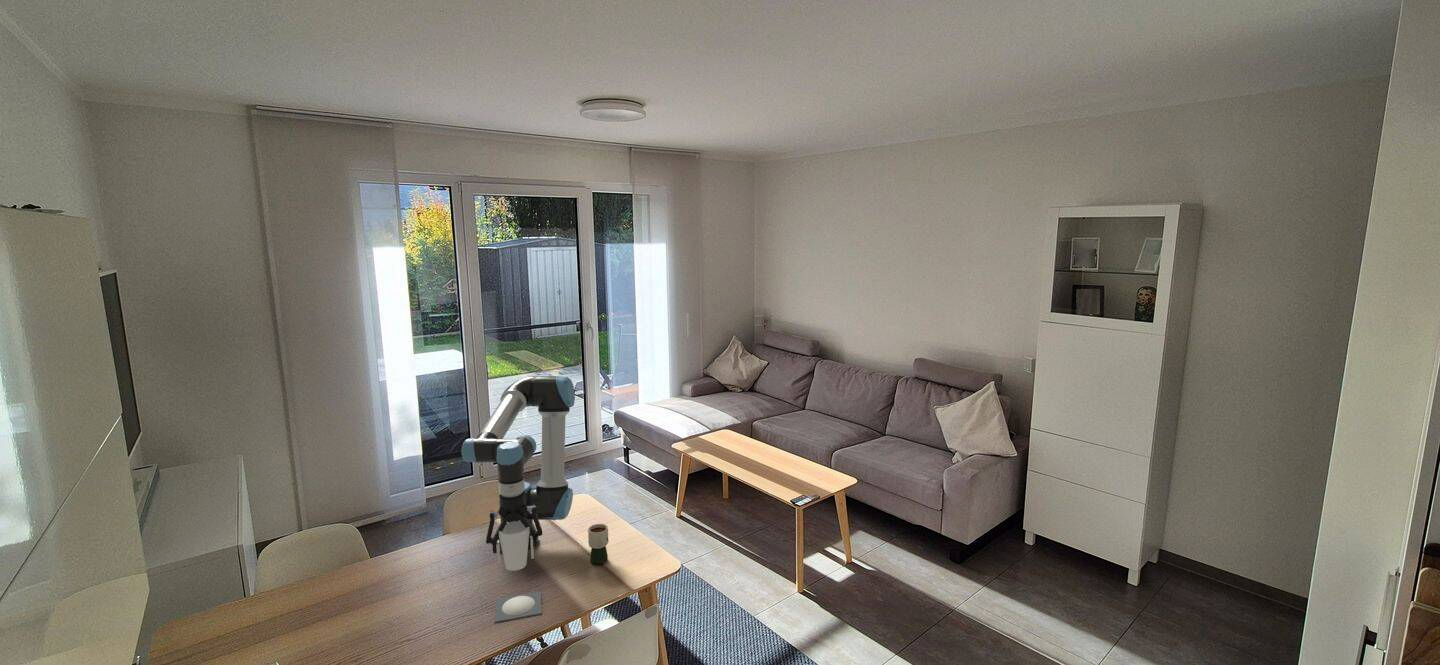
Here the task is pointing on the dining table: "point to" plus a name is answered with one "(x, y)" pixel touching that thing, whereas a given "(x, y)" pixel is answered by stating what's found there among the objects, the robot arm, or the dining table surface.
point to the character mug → (598, 543)
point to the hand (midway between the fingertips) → (515, 559)
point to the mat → (518, 606)
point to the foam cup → (514, 545)
